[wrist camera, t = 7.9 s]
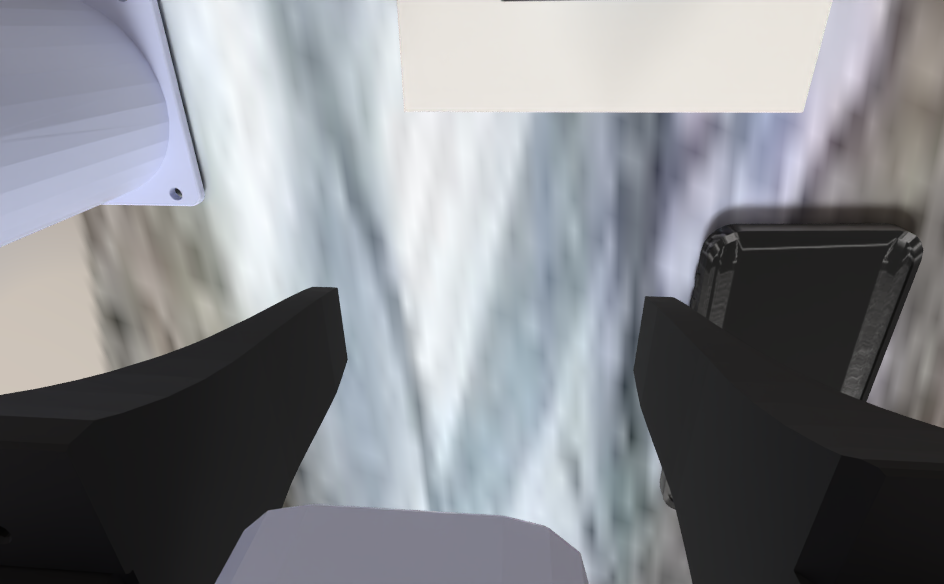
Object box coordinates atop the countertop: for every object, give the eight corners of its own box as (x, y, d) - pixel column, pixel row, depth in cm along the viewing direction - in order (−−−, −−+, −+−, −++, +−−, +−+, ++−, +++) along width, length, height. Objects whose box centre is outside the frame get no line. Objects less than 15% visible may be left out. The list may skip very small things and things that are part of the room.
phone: (932, 230, 19) (822, 517, 26) (912, 220, 20) (810, 499, 27) (709, 231, 20) (658, 510, 26) (699, 221, 21) (653, 493, 27)
